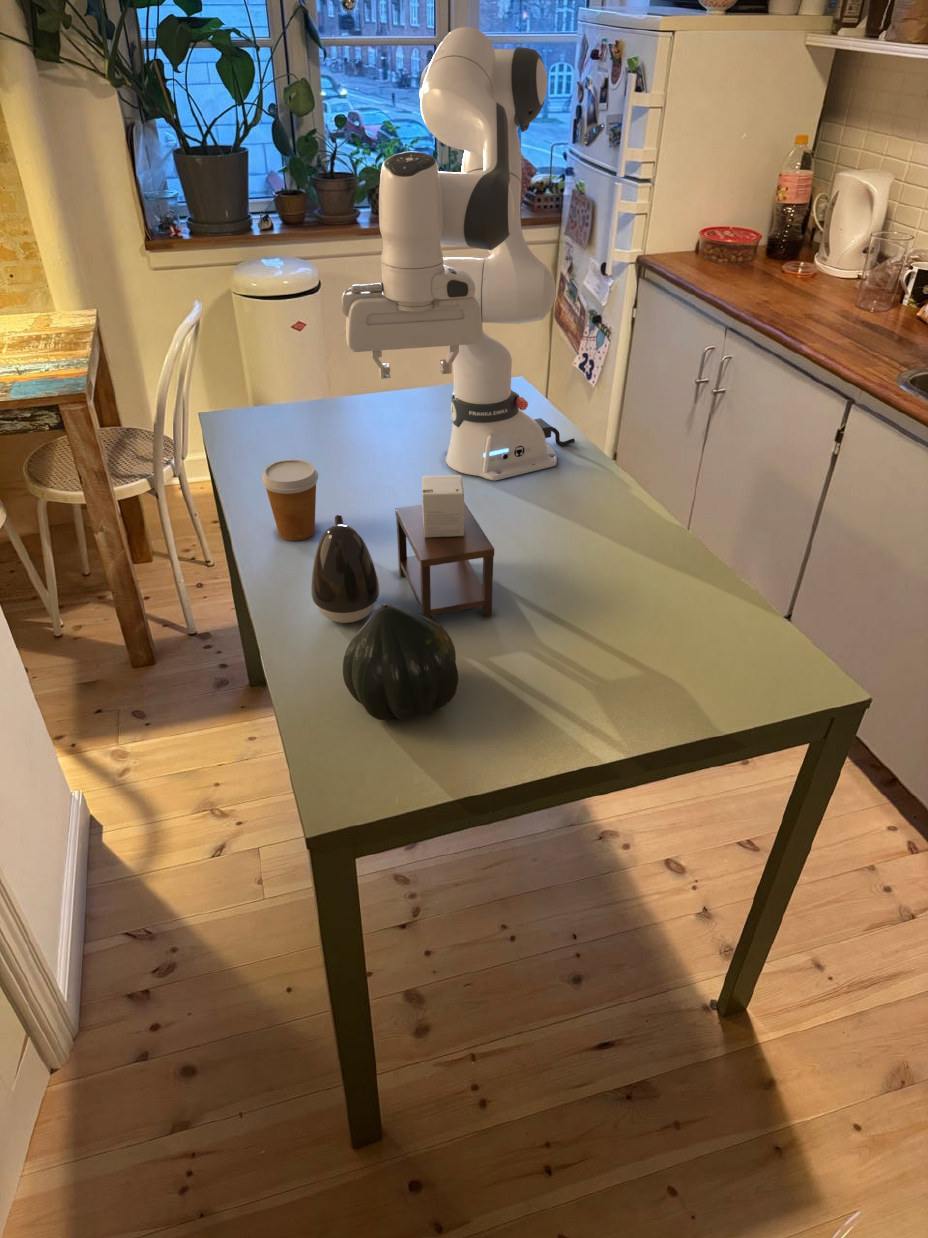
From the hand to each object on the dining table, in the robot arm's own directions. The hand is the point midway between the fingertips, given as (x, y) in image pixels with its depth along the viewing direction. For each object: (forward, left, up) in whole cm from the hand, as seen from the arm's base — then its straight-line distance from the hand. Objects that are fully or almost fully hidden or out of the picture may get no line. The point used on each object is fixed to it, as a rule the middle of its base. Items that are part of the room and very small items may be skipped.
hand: (415, 374), depth 134 cm
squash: (+13, +39, -30) cm, 51 cm away
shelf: (0, +16, -30) cm, 34 cm away
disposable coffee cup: (+20, -10, -30) cm, 38 cm away
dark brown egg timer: (+16, +17, -30) cm, 38 cm away
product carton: (0, +16, -18) cm, 24 cm away
